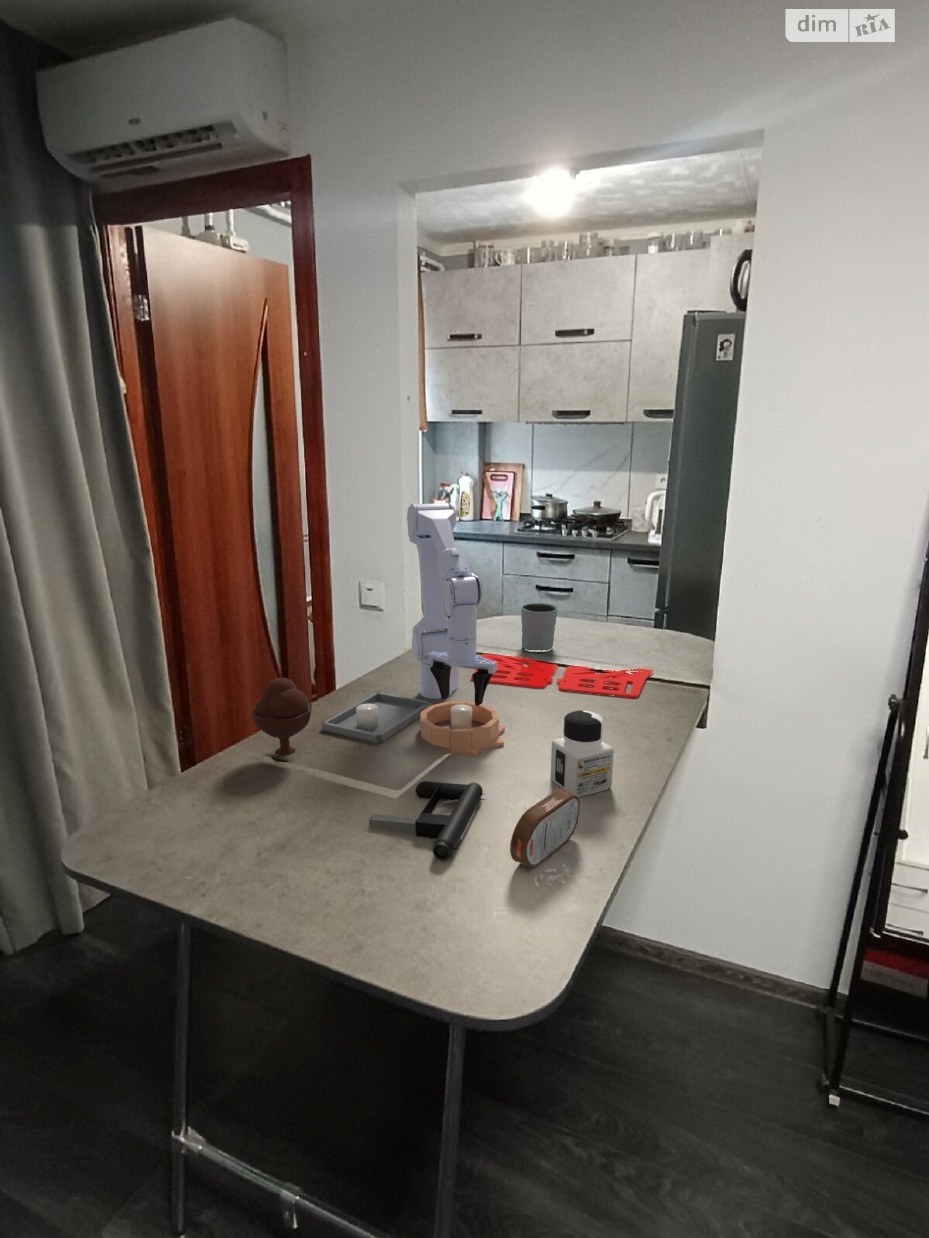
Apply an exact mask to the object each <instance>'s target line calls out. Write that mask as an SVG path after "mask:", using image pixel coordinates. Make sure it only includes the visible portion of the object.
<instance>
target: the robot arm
mask: <svg viewBox="0 0 929 1238" xmlns="http://www.w3.org/2000/svg"><path fill="white" fill-rule="evenodd" d="M456 511H457V510H456V507H455V505H454V504H453V503H452V502H443V503H441V502H440V503H410V505H409V506H408V508H407V514H406V515H407V516H406V523H407V534H408V538H409V539H408V540H409V542H410V543H412V544H414V545H416V548H417V553H418V554H417V555H418V563H419V577H420V586H421V603H422V612H423V613H422V614H423V617H422V618H421V619H420V620H419V621H418V622H417V623H415V624H414V626H413V628H412V639H411V649H412V654H413V657H414V659H416V660H417V661H419V694H420V696H421V697H424V698H426V699H435V700H436V699H442V700H446V699H447V698H449V697H450V696H451V695H452V693H453V692H454V691H456V690H458V689H459V668H463V669H464V668H465V669H469V670H470V669H471V670H474V672H475V670H478V672H475V673H474V672H473V673H474V674H473V673H472V674H471V676H472V677H473V681H472V682H473V688H474V703H475V706H479V705H480V704H484V703H483V702H484V696H485V693H486V691H487V688H488V685H489V684H490V683H489V681H490V679H491V677H492V675H493V673H494V672H496V671H497V662H496V661H491V660H488V659H485V658H482V656H478V655H477V623H478V622H477V617H478V614H477V613H478V610H477V607H478V606H479V605H480V604H481V601H482V585H481V582H480V578H479V576H478V575H477V574H476V575H475V573H474V572H471V570H470V567H469V565H468V563H467V559H466V557H465V554H464V552H463V551H462V550H460V549H459V548H457V546H456V542H455V539H454V530H455V528H456V525H457V524H456V523H457V512H456ZM444 604H445V605H444ZM477 605H478V606H477ZM445 614H446V615H447V617H445ZM443 629H444V630H443ZM429 630H438V631H429ZM425 631H427V632H425ZM492 678H493V677H492Z"/></svg>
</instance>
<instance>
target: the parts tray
mask: <svg viewBox="0 0 929 1238" xmlns="http://www.w3.org/2000/svg"><path fill="white" fill-rule="evenodd" d="M361 704H375V705H377V706H378V723H379V726H378V727H377V728H375V729H373V730H361V729H358V728H357V716H356V707H357V706H359V705H361ZM431 705H433V704H432V702H431V701H427V700H426V701H425V700H421V699H417V698H412V697H411V698H410V697H407V696H401V695H395V694H391V693H386V692H380V691H376V692H374V693H373V694H371V695H369V696H367V697H366V698H363V699H362V700H360V701H358V702H356V703H355V704H353V705H351V706H349V707H347V708H346V709H344V710H342V711H340V712H339V713H336V714H334V715H333V716H332V717H330V718H328V719H326V720H325V721H323V722H321V730H322V731H324V732H327V733H332V734H337V735H341V736H345V737H349V738H352V739H359V740H361V741H365V742H366V741H367V742H369V743H370V742H371V743H375V744H380V745H381V744H382V743H384V742H385V741H387V740H389V738H391V737H392V736H394V735H395V734H397V733H399V732H401V730H403V729H404V728H406V727H407V726H409V725H410V724H412V723H413V722H415V721H416V720H418V719H420V718H421V712H422V711H423V710H425V709H426V708H428V707H429V706H431Z"/></svg>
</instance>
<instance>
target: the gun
mask: <svg viewBox="0 0 929 1238" xmlns="http://www.w3.org/2000/svg"><path fill="white" fill-rule="evenodd" d="M483 791H484V790H483V788H482V786H481V784H479V783H477V782H470V783H468V784H464V783H452V782H451V783H450V782H437V781H428V780H427V781H421V782H419V783H418V784H417V785H416V787H415V794H416V796H417V797H418V798H421V799H429V800H428V801H427V803H426V805H425V806H424V807H423V809H422V810H421V812H420V813H419V814H418V816H417V818H416V817H410V816H408V817H407V816H398V815H397V816H396V815H388V814H375V813H372V815H371V816H370V817H369V818H368V824H369V825H368V826H369V827H370V828H375V829H381V830H388V831H395V832H401V833H409V834H415V835H416V837H418V838H419V837H420V838H425V839H432V840H435V842H434V843H433V848H432V854H433V856H434V858H436V859H437V860H440V861H445V860H447V859H448V858H449V857H451V856H452V854H453V853H454V851H455V850H460V848H457V845H458V843H459V842H462V841H463V840H464V838H463V837H464V836H465V834H466V833H467V830H468V828H469V826H470V825H471V822H472V820H473V818H474V816H475V814H476V807H477V806H478V805H479V802H480V800H482V801H484V800H487V799H486V798H482V796H483V795H485V793H484V792H483ZM440 800H445V801H442V807H446V806H450V805H455V806H454V808H453V810H452V811H451V813H450V814H438V813H433V812H434V810H435V808H436V807H437V805H438V803H439V802H440Z"/></svg>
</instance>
